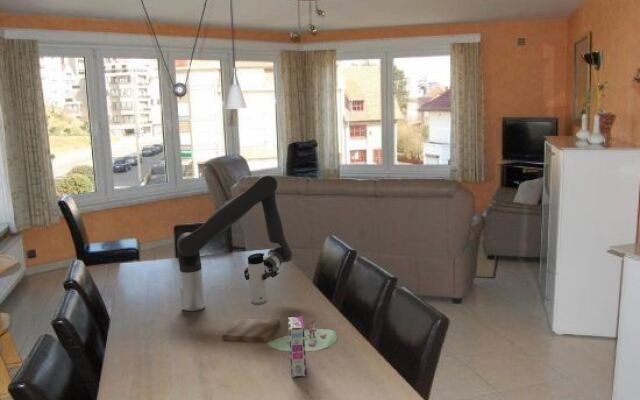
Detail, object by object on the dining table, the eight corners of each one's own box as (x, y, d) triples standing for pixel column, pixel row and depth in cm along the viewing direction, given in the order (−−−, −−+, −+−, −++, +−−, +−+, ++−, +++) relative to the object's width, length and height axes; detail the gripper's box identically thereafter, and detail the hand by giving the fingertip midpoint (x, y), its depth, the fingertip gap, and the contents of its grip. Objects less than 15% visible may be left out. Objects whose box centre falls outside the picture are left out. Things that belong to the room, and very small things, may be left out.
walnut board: (222, 340, 221) (222, 334, 220) (239, 323, 237) (239, 318, 236) (265, 342, 216) (265, 336, 216) (280, 324, 233) (279, 319, 232)
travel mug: (265, 305, 230) (261, 256, 227) (249, 305, 231) (245, 256, 228) (269, 300, 236) (265, 251, 233) (253, 299, 237) (249, 251, 234)
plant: (279, 360, 202) (277, 335, 200) (262, 339, 221) (261, 316, 219) (345, 346, 210) (344, 322, 209) (324, 326, 229) (323, 304, 228)
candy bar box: (307, 377, 187) (304, 327, 184) (291, 378, 186) (288, 329, 184) (305, 361, 198) (302, 315, 195) (290, 363, 197) (287, 316, 195)
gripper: (251, 256, 247) (236, 268, 231) (284, 257, 243) (271, 268, 227) (252, 274, 248) (238, 286, 232) (285, 274, 245) (273, 287, 229)
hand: (255, 277), depth 230 cm, fingers closed on travel mug, 6 cm apart
